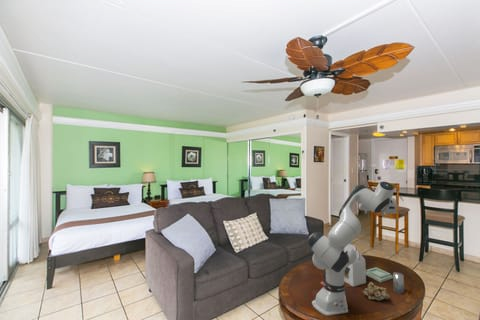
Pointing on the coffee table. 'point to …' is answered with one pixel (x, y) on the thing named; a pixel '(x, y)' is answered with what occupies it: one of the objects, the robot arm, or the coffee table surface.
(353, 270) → the gable box
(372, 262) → the coffee table surface
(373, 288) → the mineral formation
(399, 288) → the brushed metal cylinder
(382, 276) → the plate
